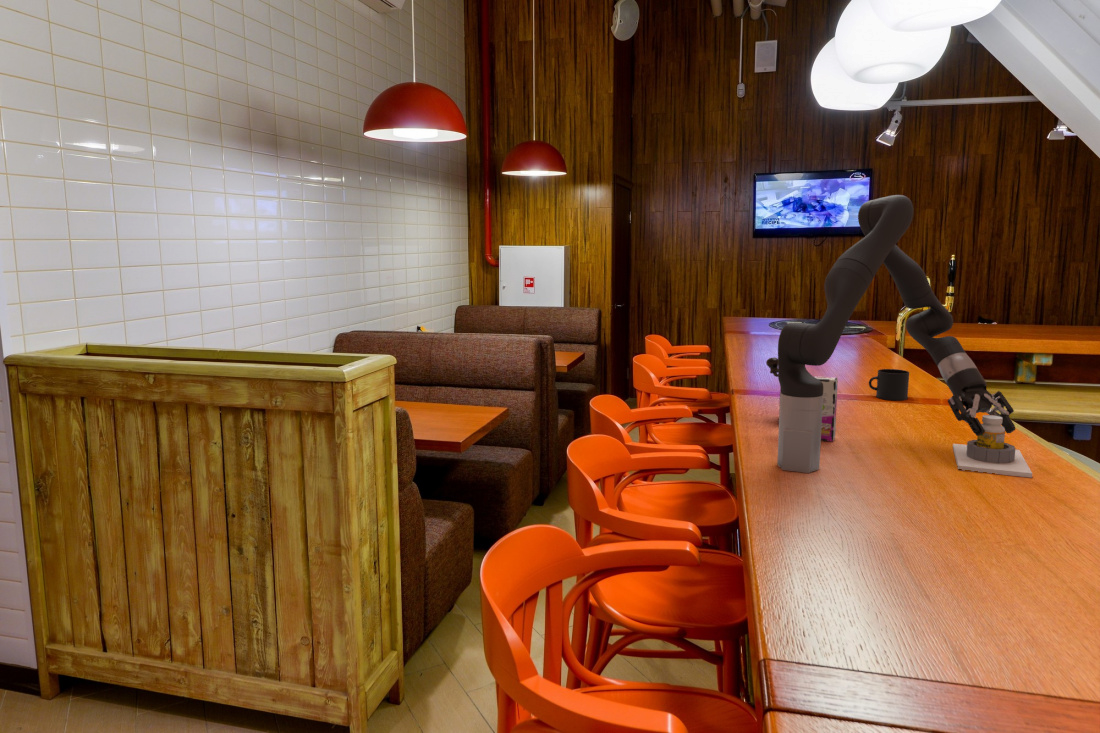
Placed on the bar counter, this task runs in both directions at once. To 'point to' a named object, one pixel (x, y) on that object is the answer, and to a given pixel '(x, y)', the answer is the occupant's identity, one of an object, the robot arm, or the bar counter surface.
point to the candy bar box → (828, 408)
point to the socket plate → (991, 459)
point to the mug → (891, 384)
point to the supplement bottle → (992, 433)
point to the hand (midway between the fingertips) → (996, 432)
